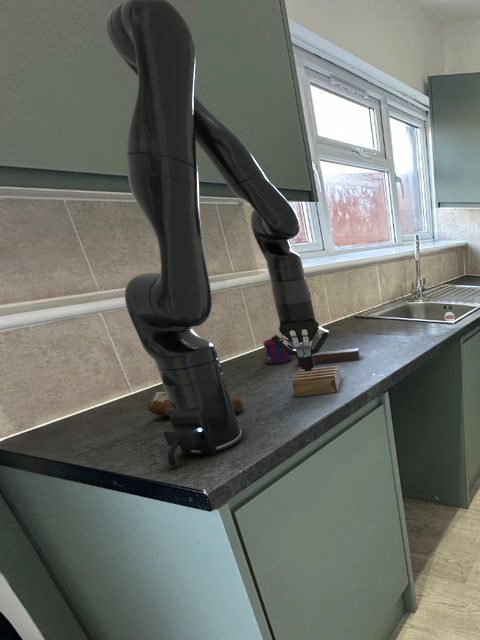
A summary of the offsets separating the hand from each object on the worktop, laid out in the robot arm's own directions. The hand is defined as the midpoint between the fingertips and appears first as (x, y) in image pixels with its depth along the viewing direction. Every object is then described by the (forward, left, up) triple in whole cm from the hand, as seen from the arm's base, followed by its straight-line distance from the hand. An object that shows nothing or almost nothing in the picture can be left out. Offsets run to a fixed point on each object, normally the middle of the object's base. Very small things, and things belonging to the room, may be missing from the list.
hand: (309, 370), depth 102 cm
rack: (+7, +2, -7) cm, 10 cm away
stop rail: (+29, +10, -7) cm, 31 cm away
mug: (+31, +26, -8) cm, 41 cm away
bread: (-9, +22, -8) cm, 25 cm away
